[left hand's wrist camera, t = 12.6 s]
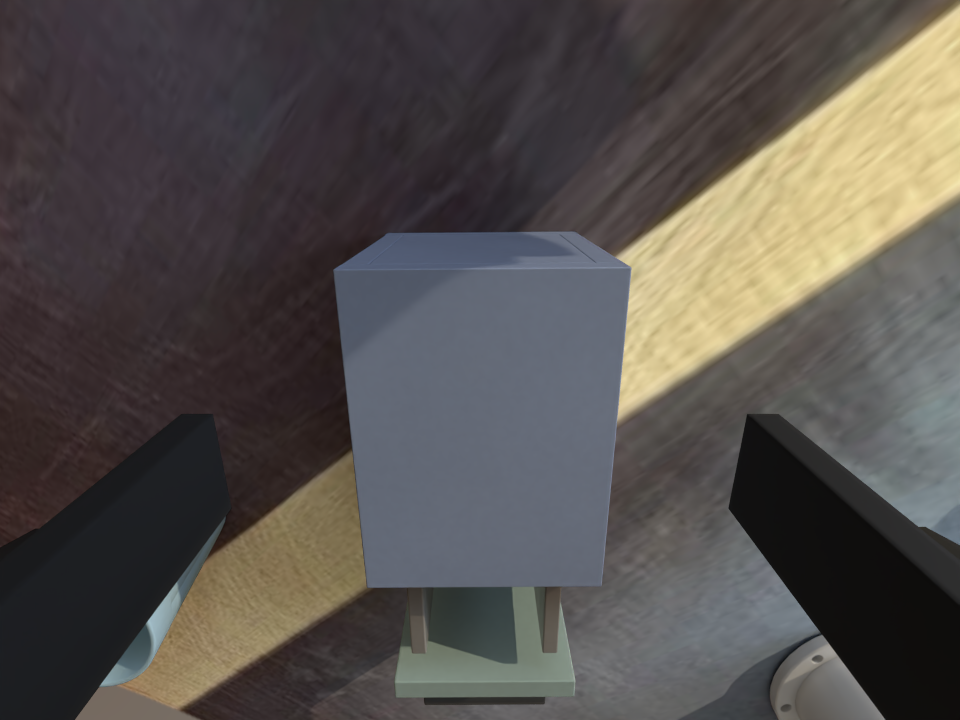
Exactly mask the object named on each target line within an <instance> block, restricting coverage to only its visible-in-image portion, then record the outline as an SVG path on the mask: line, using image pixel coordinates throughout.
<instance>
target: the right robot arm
mask: <svg viewBox="0 0 960 720" xmlns="http://www.w3.org/2000/svg"><path fill="white" fill-rule="evenodd" d="M770 701H771V705H772V708H773V710H774V712H775V714H776V716H777V718H778V720H885V719H884V717H883V716H882V715H881V713H880V712H879V711H878V709H877V708H876V707H875V705H874V704H873V703H872V701H871V700H870V698H869V697H868V696H867V694H866V693H865V692H864V690H863V689H862V688H861V686H860V685H859V684H858V682H857V681H856V680H855V678H854V677H853V676H852V674H851V673H850V672H849V670H848V669H847V667H846V666H845V665H844V663H843V662H842V661H841V659H840V658H839V657H838V655H837V654H836V653H835V651H834V650H833V649H832V647H831V646H830V645H829V643H828V642H827V640H826V639H825V638H824V636H823V635H820V636H817V637H815V638H813V639H811V640H810V641H808V642H806V643H805V644H803V645H801V646H800V647H799V648H797V649H796V650H795V651H794V652H792V653H791V654H790V655H789V656H788V657H787V658H786V659H785V661H784V662H783V663H782V664H781V665H780V667H779V668H778V670H777V672H776V673H775V675H774V678H773V681H772V684H771V686H770Z"/></svg>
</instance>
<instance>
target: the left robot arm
mask: <svg viewBox="0 0 960 720" xmlns="http://www.w3.org/2000/svg"><path fill="white" fill-rule="evenodd" d="M230 510H231V503H230V498H229V493H228V488H227V483H226V478H225V473H224V468H223V463H222V458H221V453H220V448H219V443H218V438H217V433H216V428H215V423H214V418H213V414H181V415H180V416H179V417H177V418H176V419H175V420H174V421H172V422H171V423H170V424H169V425H167V426H166V427H165V428H164V429H162V430H161V431H160V432H159V433H158V434H156V435H155V436H154V437H153V438H151V439H150V440H149V441H148V442H146V443H145V444H144V445H143V446H141V447H140V448H139V449H138V450H136V451H135V452H134V453H133V454H131V455H130V456H129V457H128V458H127V459H125V460H124V461H123V462H122V463H120V464H119V465H118V466H117V467H115V468H114V469H113V470H112V471H110V472H109V473H108V474H107V475H105V476H104V477H103V478H102V479H101V480H99V481H98V482H97V483H96V484H94V485H93V486H92V487H91V488H89V489H88V490H87V491H86V492H84V493H83V494H82V495H81V496H79V497H78V498H77V499H76V500H74V501H73V502H72V503H71V504H70V505H68V506H67V507H66V508H65V509H63V510H62V511H61V512H60V513H58V514H57V515H56V516H55V517H53V518H52V519H51V520H50V521H48V522H47V523H46V524H45V525H44V526H42V527H41V528H40V529H34V530H32V531H30V532H29V533H27V534H25V535H23V536H21V537H19V538H17V539H15V540H14V541H12V542H10V543H8V544H6V545H4V546H2V547H1V548H0V720H75V719H76V717H77V716H78V715H79V713H80V712H81V711H82V709H83V708H84V707H85V705H86V704H87V703H88V701H89V700H90V698H91V697H92V696H93V694H94V693H95V692H96V690H97V689H98V688H99V686H100V685H101V684H102V682H103V681H104V680H105V678H106V677H107V676H108V674H109V673H110V672H111V670H112V669H113V667H114V666H115V665H116V663H117V662H118V661H119V659H120V658H121V657H122V655H123V654H124V653H125V651H126V650H127V649H128V647H129V646H130V645H131V643H132V642H133V640H134V639H135V638H136V636H137V635H138V634H139V632H140V631H141V630H142V628H143V627H144V626H145V624H146V623H147V622H148V620H149V619H150V618H151V616H152V615H153V614H154V612H155V611H156V609H157V608H158V607H159V605H160V604H161V603H162V601H163V600H164V599H165V597H166V596H167V595H168V593H169V592H170V591H171V589H172V588H173V587H174V585H175V584H176V583H177V581H178V580H179V578H180V577H181V576H182V574H183V573H184V572H185V570H186V569H187V568H188V566H189V565H190V564H191V562H192V561H193V560H194V558H195V557H196V556H197V554H198V553H199V551H200V550H201V549H202V547H203V546H204V545H205V543H206V542H207V541H208V539H209V538H210V537H211V535H212V534H213V533H214V531H215V530H216V529H217V527H218V526H219V525H220V523H221V522H222V520H223V519H224V518H225V516H226V515H227V514H228V512H229V511H230ZM729 510H730V511H731V512H732V514H733V515H734V516H735V518H736V519H737V520H738V522H739V523H740V525H741V526H742V527H743V529H744V530H745V531H746V533H747V534H748V535H749V537H750V538H751V539H752V541H753V542H754V543H755V545H756V546H757V547H758V549H759V550H760V551H761V553H762V554H763V556H764V557H765V558H766V560H767V561H768V562H769V564H770V565H771V566H772V568H773V569H774V570H775V572H776V573H777V574H778V576H779V577H780V578H781V580H782V581H783V583H784V584H785V585H786V587H787V588H788V589H789V591H790V592H791V593H792V595H793V596H794V597H795V599H796V600H797V601H798V603H799V604H800V605H801V607H802V608H803V609H804V611H805V612H806V614H807V615H808V616H809V618H810V619H811V620H812V622H813V623H814V624H815V626H816V627H817V628H818V630H819V631H820V632H821V634H822V635H823V636H824V638H825V639H826V640H827V642H828V643H829V645H830V646H831V647H832V649H833V650H834V651H835V653H836V654H837V655H838V657H839V658H840V659H841V661H842V662H843V663H844V665H845V666H846V667H847V669H848V670H849V672H850V673H851V674H852V676H853V677H854V678H855V680H856V681H857V682H858V684H859V685H860V686H861V688H862V689H863V690H864V692H865V693H866V694H867V696H868V697H869V698H870V700H871V701H872V703H873V704H874V705H875V707H876V708H877V709H878V711H879V712H880V713H881V715H882V716H883V717H884V719H885V720H960V545H958V544H956V543H954V542H952V541H951V540H949V539H947V538H945V537H943V536H941V535H939V534H937V533H936V532H934V531H932V530H930V529H928V528H926V527H918V526H916V525H915V524H914V523H913V522H912V521H910V520H909V519H908V518H907V517H905V516H904V515H903V514H902V513H900V512H899V511H898V510H897V509H895V508H894V507H893V506H892V505H890V504H889V503H888V502H887V501H886V500H884V499H883V498H882V497H881V496H879V495H878V494H877V493H876V492H874V491H873V490H872V489H871V488H869V487H868V486H867V485H866V484H864V483H863V482H862V481H861V480H859V479H858V478H857V477H856V476H855V475H853V474H852V473H851V472H850V471H848V470H847V469H846V468H845V467H843V466H842V465H841V464H840V463H838V462H837V461H836V460H835V459H833V458H832V457H831V456H830V455H829V454H827V453H826V452H825V451H824V450H822V449H821V448H820V447H819V446H817V445H816V444H815V443H814V442H812V441H811V440H810V439H809V438H807V437H806V436H805V435H804V434H802V433H801V432H800V431H799V430H798V429H796V428H795V427H794V426H793V425H791V424H790V423H789V422H788V421H786V420H785V419H784V418H783V417H781V416H780V415H779V414H747V418H746V423H745V428H744V433H743V438H742V443H741V448H740V453H739V458H738V463H737V468H736V473H735V478H734V483H733V488H732V493H731V498H730V503H729Z"/></svg>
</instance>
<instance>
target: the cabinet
mask: <svg viewBox="0 0 960 720" xmlns="http://www.w3.org/2000/svg"><path fill="white" fill-rule="evenodd" d="M333 273H334V282H335V291H336V301H337V310H338V320H339V329H340V338H341V348H342V357H343V366H344V376H345V385H346V395H347V404H348V413H349V423H350V432H351V442H352V451H353V460H354V470H355V479H356V488H357V498H358V507H359V517H360V526H361V535H362V545H363V554H364V564H365V573H366V582H367V588H416V587H584V586H601V585H602V574H603V563H604V553H605V542H606V532H607V521H608V510H609V500H610V489H611V479H612V468H613V458H614V447H615V436H616V426H617V415H618V405H619V394H620V383H621V373H622V362H623V352H624V341H625V331H626V320H627V309H628V299H629V288H630V278H631V267H630V266H628V265H626V264H625V263H623V262H622V261H620V260H618V259H617V258H615V257H614V256H612V255H610V254H609V253H607V252H606V251H604V250H603V249H601V248H599V247H598V246H596V245H595V244H593V243H591V242H590V241H588V240H587V239H585V238H583V237H582V236H580V235H579V234H578V233H577V232H465V233H387V234H385V236H384V237H382V238H381V239H379V240H378V241H376V242H375V243H373V244H372V245H370V246H369V247H367V248H366V249H364V250H363V251H361V252H360V253H358V254H357V255H355V256H354V257H352V258H351V259H349V260H348V261H346V262H345V263H343V264H342V265H340V266H338V267H337V268H335V269H334V270H333Z"/></svg>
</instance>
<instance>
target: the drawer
mask: <svg viewBox="0 0 960 720" xmlns="http://www.w3.org/2000/svg"><path fill="white" fill-rule="evenodd" d="M407 595H408V603H407V609H406V615H405V620H404V626H403V632H402V638H401V644H400V650H399V656H398V662H397V668H396V674H395V680H394V686H395V696H396V698H424V703H425V705H492V704H545V697H573V696H574V691H575V677H574V672H573V666H572V661H571V656H570V650H569V645H568V640H567V634H566V629H565V624H564V618H563V613H562V608H561V602H560V600H561V587H416V588H407Z"/></svg>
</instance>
